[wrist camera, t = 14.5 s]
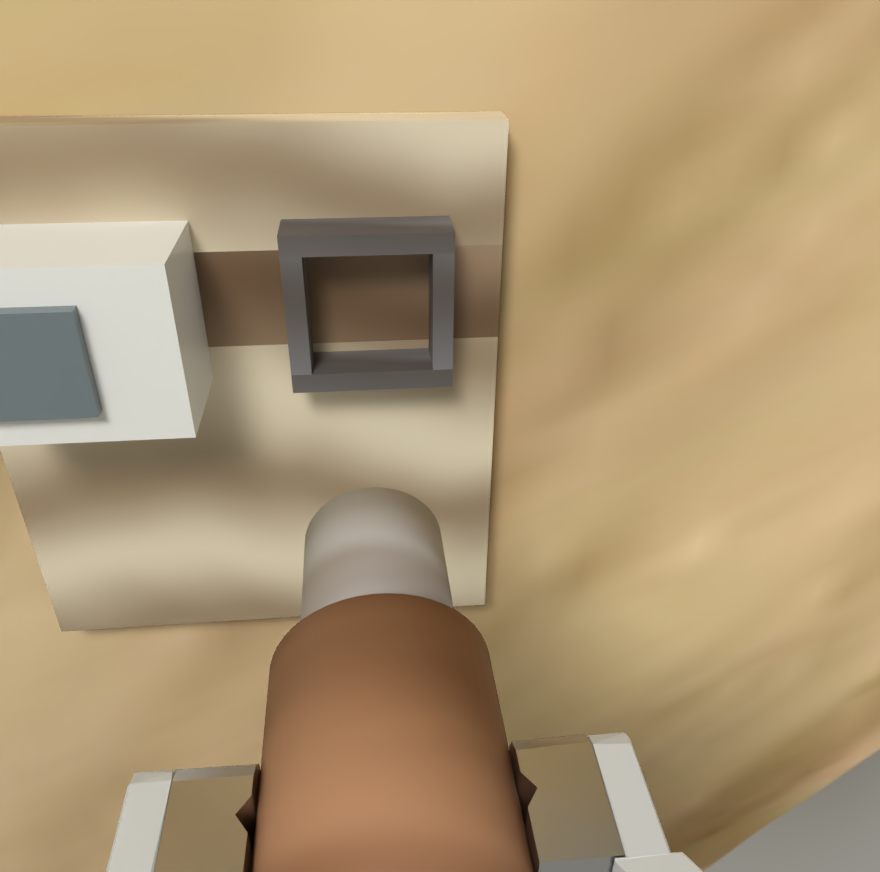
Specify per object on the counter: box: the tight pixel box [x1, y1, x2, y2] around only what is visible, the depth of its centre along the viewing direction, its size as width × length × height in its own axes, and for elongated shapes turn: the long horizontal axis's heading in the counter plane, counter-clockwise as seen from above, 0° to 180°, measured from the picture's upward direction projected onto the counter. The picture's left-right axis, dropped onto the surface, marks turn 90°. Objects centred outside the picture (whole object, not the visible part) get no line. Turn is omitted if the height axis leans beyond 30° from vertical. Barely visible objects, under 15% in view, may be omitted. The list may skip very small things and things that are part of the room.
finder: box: [0, 220, 213, 446], centre depth 22 cm, size 6×5×4 cm
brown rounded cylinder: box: [251, 487, 534, 872], centre depth 10 cm, size 3×3×10 cm
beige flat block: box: [0, 111, 509, 631], centre depth 26 cm, size 18×16×3 cm
